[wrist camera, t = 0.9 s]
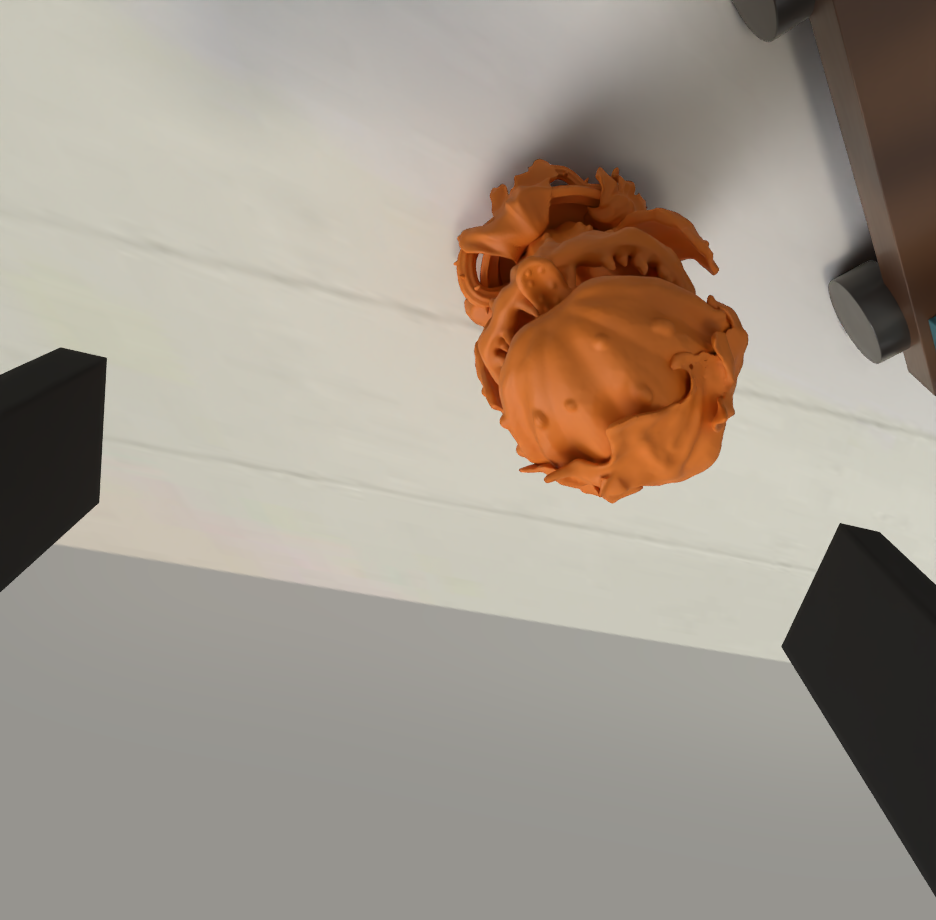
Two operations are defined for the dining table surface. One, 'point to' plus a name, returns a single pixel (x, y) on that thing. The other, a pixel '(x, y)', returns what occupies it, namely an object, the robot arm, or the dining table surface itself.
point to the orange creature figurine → (599, 333)
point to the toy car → (880, 160)
